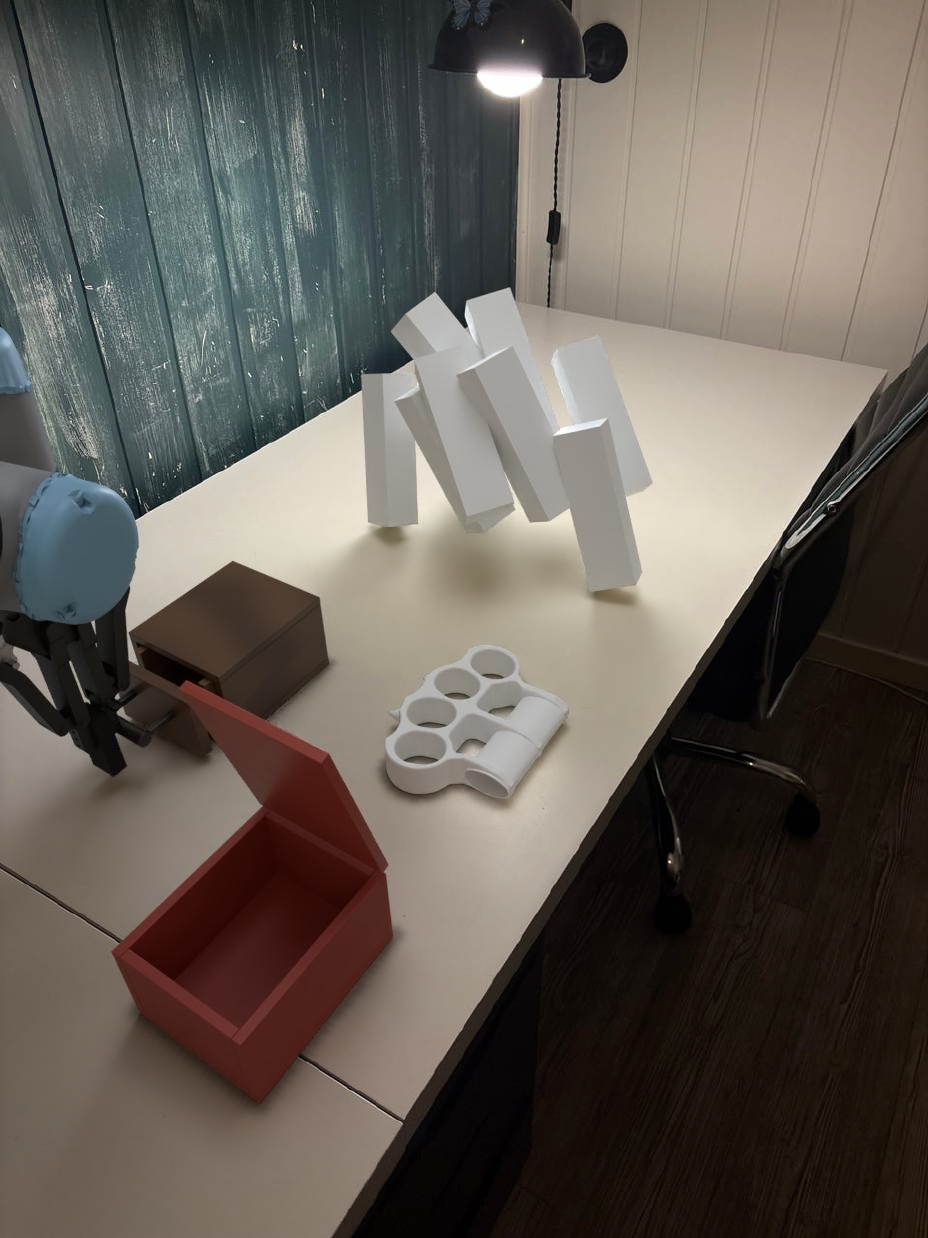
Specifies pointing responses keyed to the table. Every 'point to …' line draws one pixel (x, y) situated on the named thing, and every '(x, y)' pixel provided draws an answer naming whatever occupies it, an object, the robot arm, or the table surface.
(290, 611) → the cabinet
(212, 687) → the drawer
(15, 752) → the table surface
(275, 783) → the lid
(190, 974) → the chest
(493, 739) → the white brass knuckles
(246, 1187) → the table surface
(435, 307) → the pile of blocks
